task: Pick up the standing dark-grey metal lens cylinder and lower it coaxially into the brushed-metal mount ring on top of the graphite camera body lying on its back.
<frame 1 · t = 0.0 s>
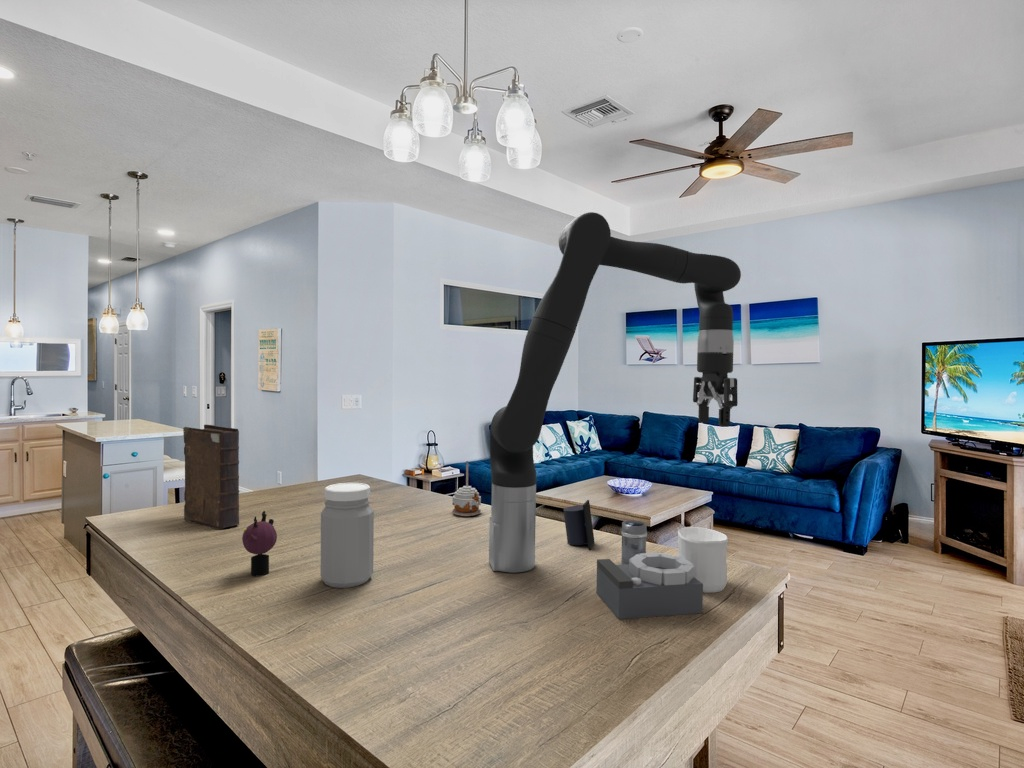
hand: (713, 424, 126), 29 cm above the table, fingers open, 8 cm apart
decorative ornament: (466, 514, 159), on the table
lens: (633, 566, 119), on the table
figurine: (260, 574, 111), on the table
jar: (347, 580, 109), on the table
camera body: (647, 602, 100), on the table
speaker: (578, 545, 133), on the table
book: (211, 524, 146), on the table
cup: (700, 584, 109), on the table
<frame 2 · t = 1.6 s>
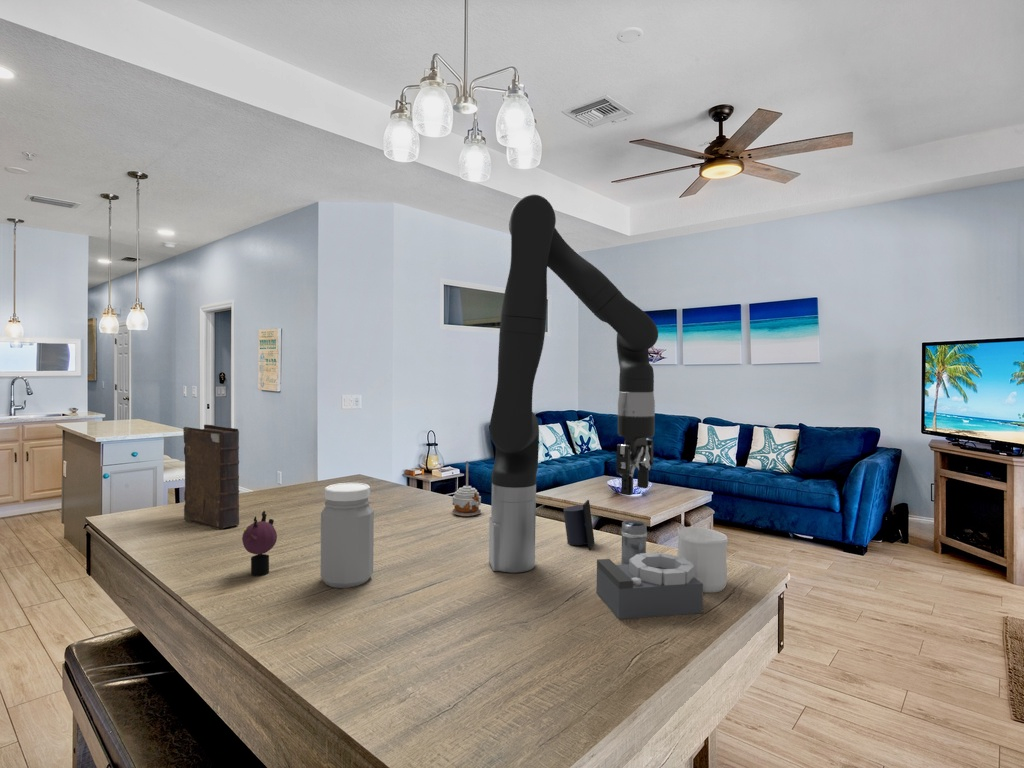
hand: (635, 491, 118), 16 cm above the table, fingers open, 8 cm apart
nothing on the table moved.
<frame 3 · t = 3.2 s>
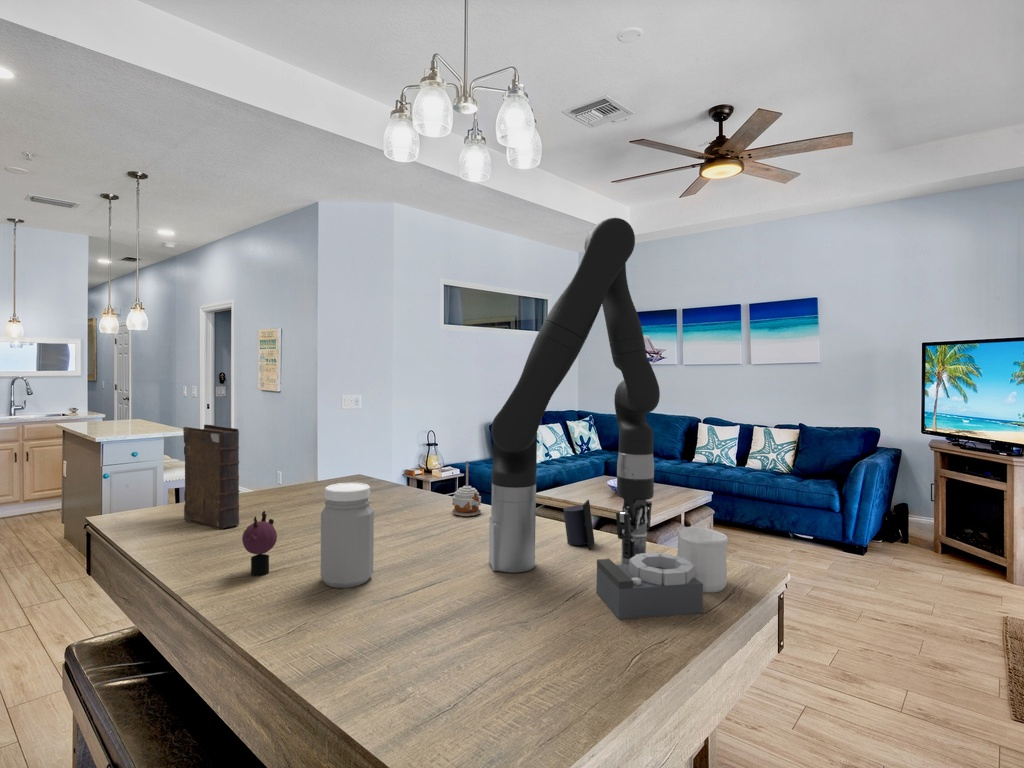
hand: (633, 554, 119), 2 cm above the table, fingers closed on lens, 5 cm apart
lens: (633, 566, 119), on the table, touching gripper
everything else where it was.
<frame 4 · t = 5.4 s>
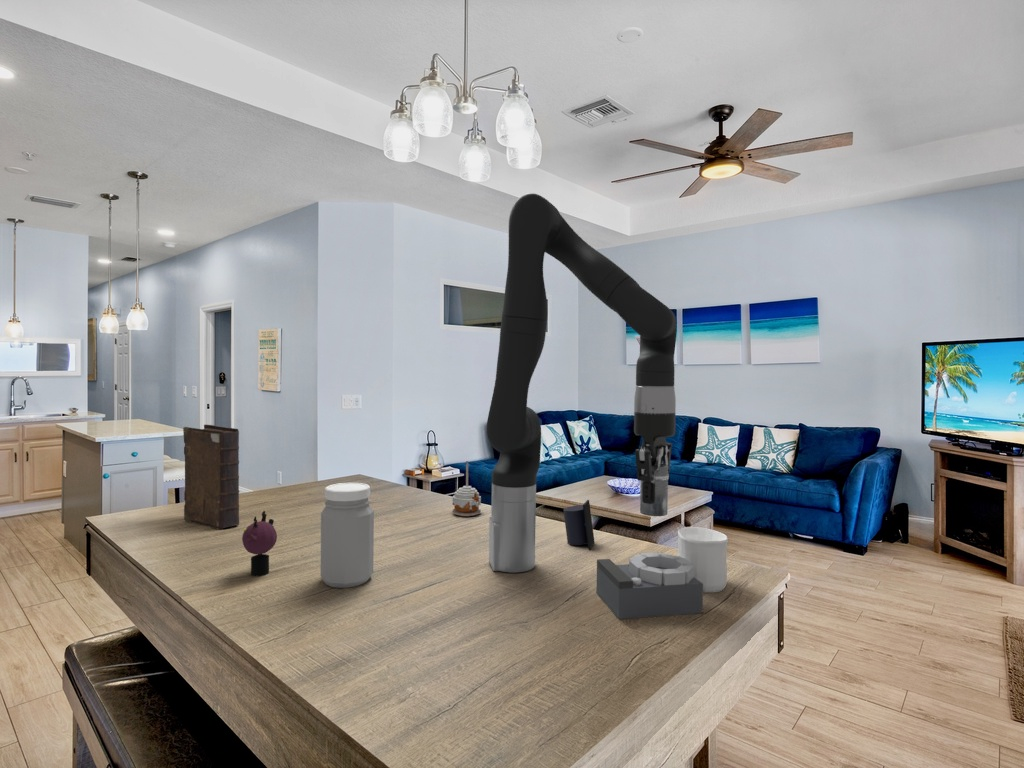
hand: (653, 499, 107), 17 cm above the table, fingers closed on lens, 5 cm apart
lens: (653, 512, 107), point 14 cm above the table, touching gripper
everything else where it was.
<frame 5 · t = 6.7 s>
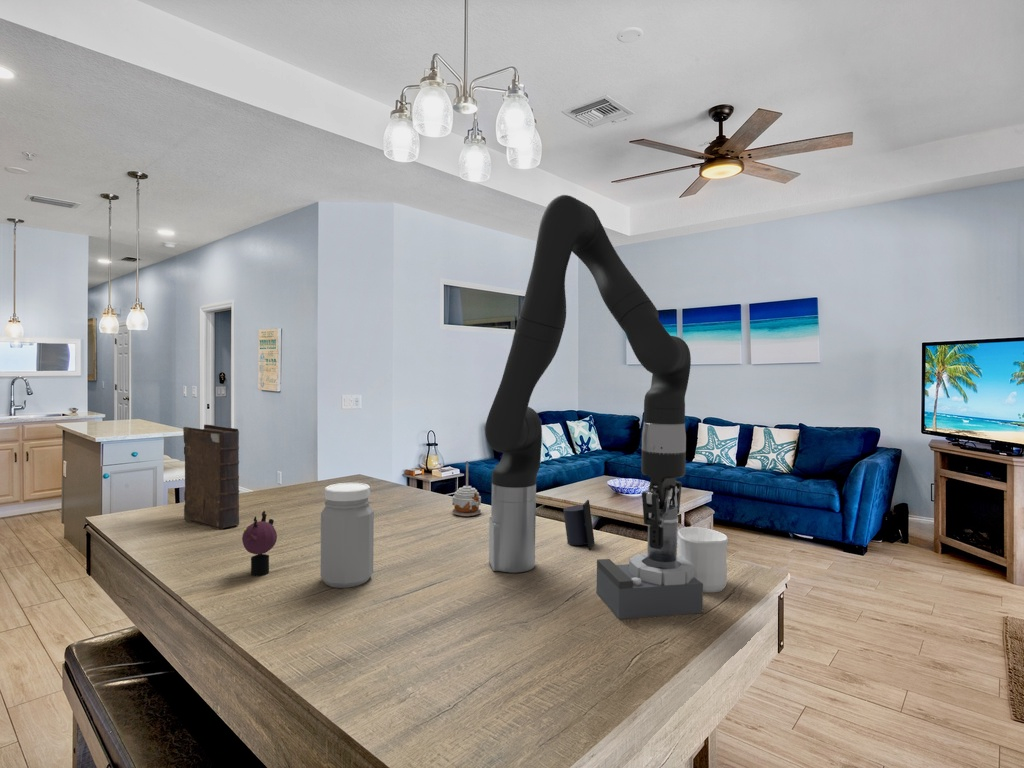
hand: (661, 543, 100), 10 cm above the table, fingers closed on lens, 5 cm apart
lens: (661, 557, 100), point 8 cm above the table, touching gripper
everything else where it was.
when the fingers open (8 cm above the table, at t = 7.6 s): lens stays where it is, resting on camera body.
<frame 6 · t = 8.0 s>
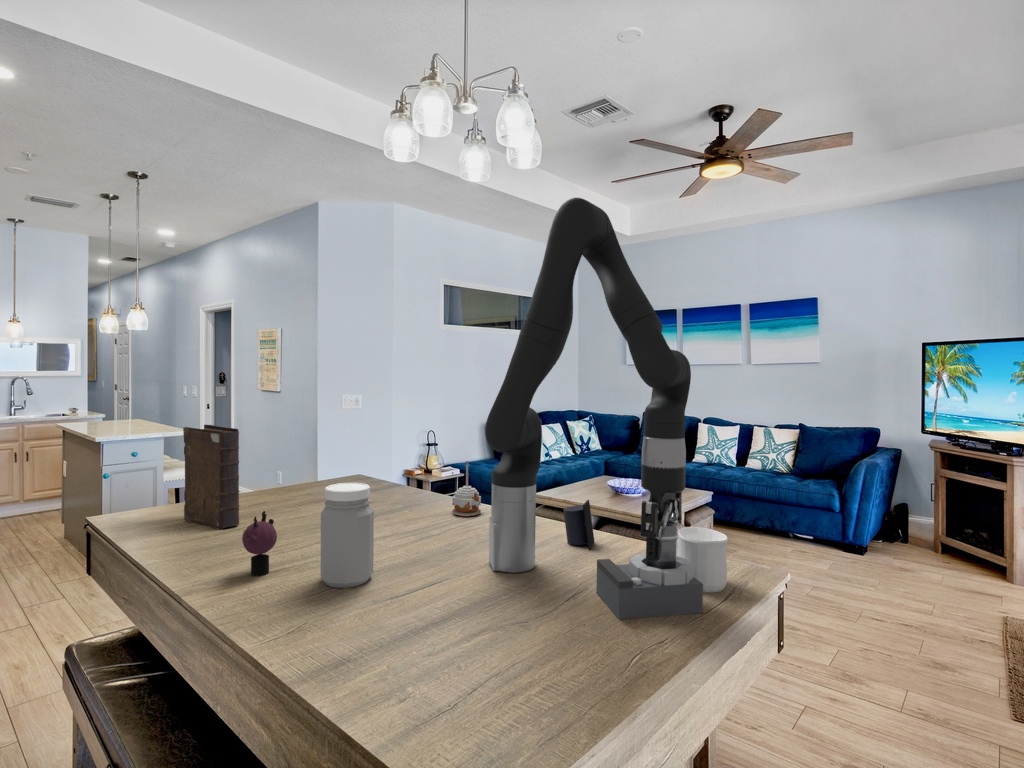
hand: (661, 553, 100), 9 cm above the table, fingers open, 8 cm apart
lens: (661, 573, 100), point 5 cm above the table, touching camera body
everything else where it was.
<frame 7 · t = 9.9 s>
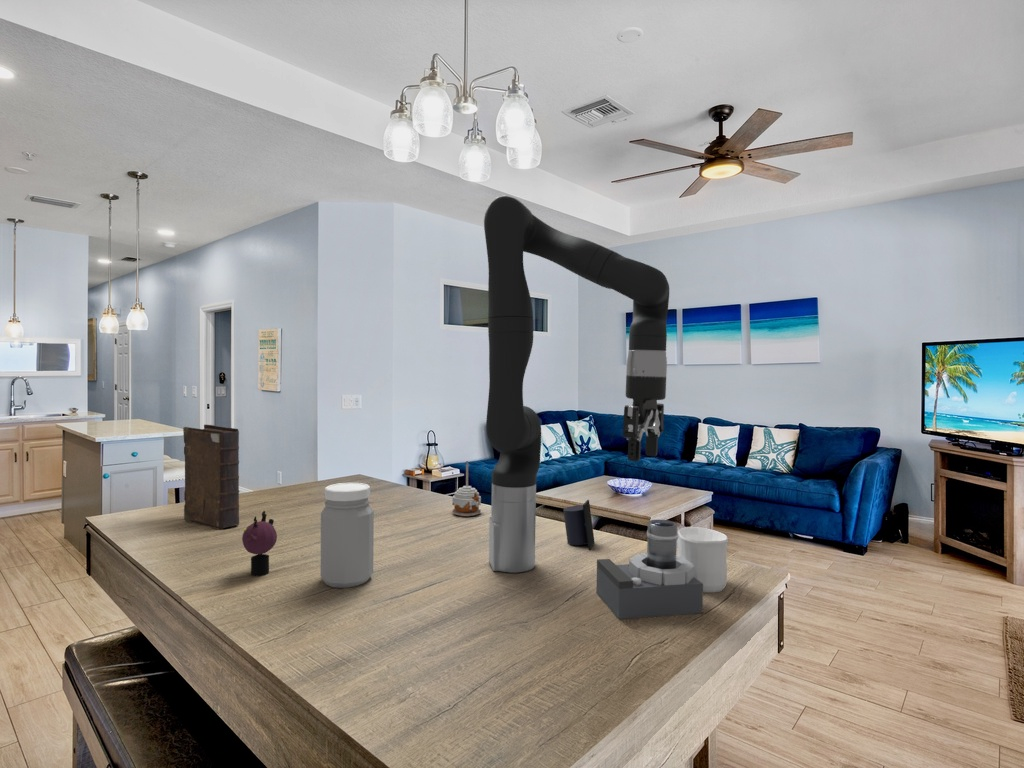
hand: (642, 458, 109), 24 cm above the table, fingers open, 8 cm apart
nothing on the table moved.
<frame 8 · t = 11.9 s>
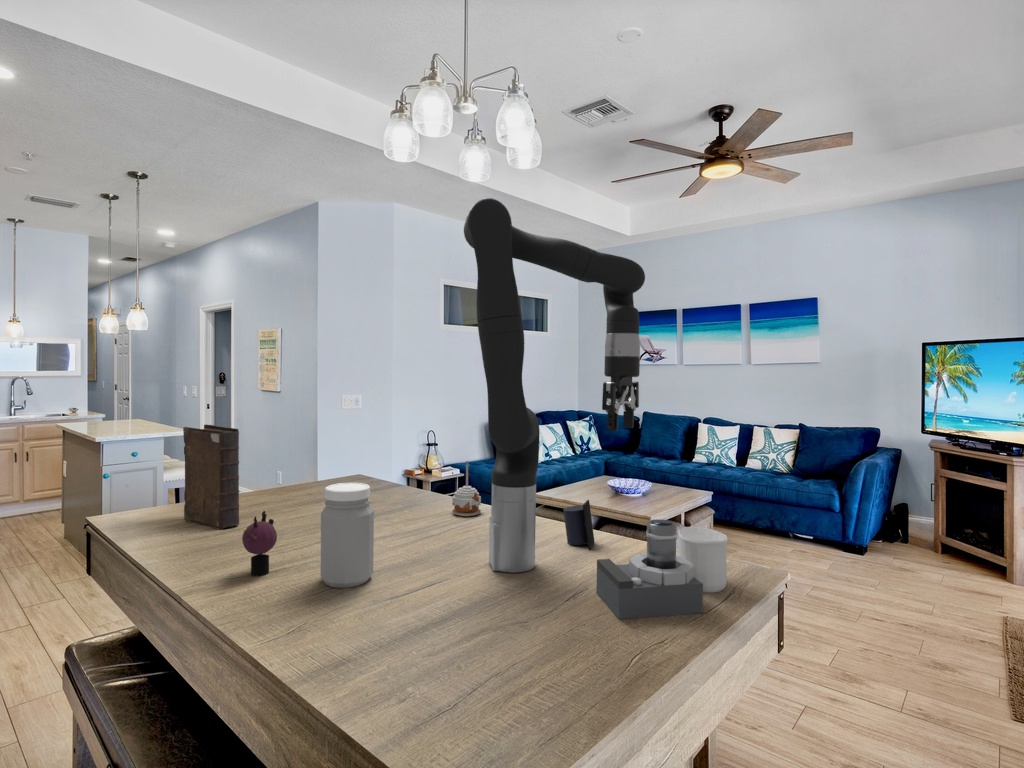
hand: (620, 429, 124), 28 cm above the table, fingers open, 8 cm apart
nothing on the table moved.
at the end: lens 0.0 cm from the target spot on the camera body, point 5.0 cm above the camera body's base; lens tilted 1°; the gripper is holding nothing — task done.
